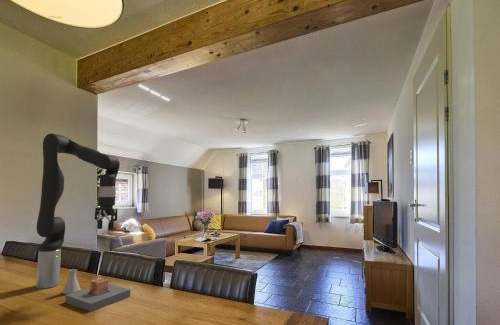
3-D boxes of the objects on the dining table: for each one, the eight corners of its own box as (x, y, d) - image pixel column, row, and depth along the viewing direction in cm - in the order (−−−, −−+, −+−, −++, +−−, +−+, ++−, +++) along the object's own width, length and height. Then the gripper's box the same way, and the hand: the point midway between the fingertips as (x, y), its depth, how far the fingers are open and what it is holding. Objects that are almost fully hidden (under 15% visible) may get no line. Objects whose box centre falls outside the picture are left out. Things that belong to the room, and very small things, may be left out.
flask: (71, 295, 125) (73, 272, 126) (57, 294, 127) (59, 271, 128) (84, 290, 132) (85, 268, 133) (71, 289, 134) (72, 267, 135)
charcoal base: (64, 302, 118) (65, 295, 118) (105, 289, 133) (105, 282, 134) (90, 311, 109) (90, 303, 109) (130, 296, 125) (130, 289, 125)
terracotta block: (89, 300, 120) (90, 281, 121) (100, 296, 125) (101, 277, 125) (96, 302, 118) (97, 283, 119) (107, 298, 122) (108, 279, 123)
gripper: (90, 195, 137) (88, 229, 136) (109, 196, 131) (106, 231, 129) (105, 195, 144) (103, 227, 142) (123, 196, 137) (121, 229, 135)
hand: (105, 229), depth 136 cm, fingers open, 8 cm apart
